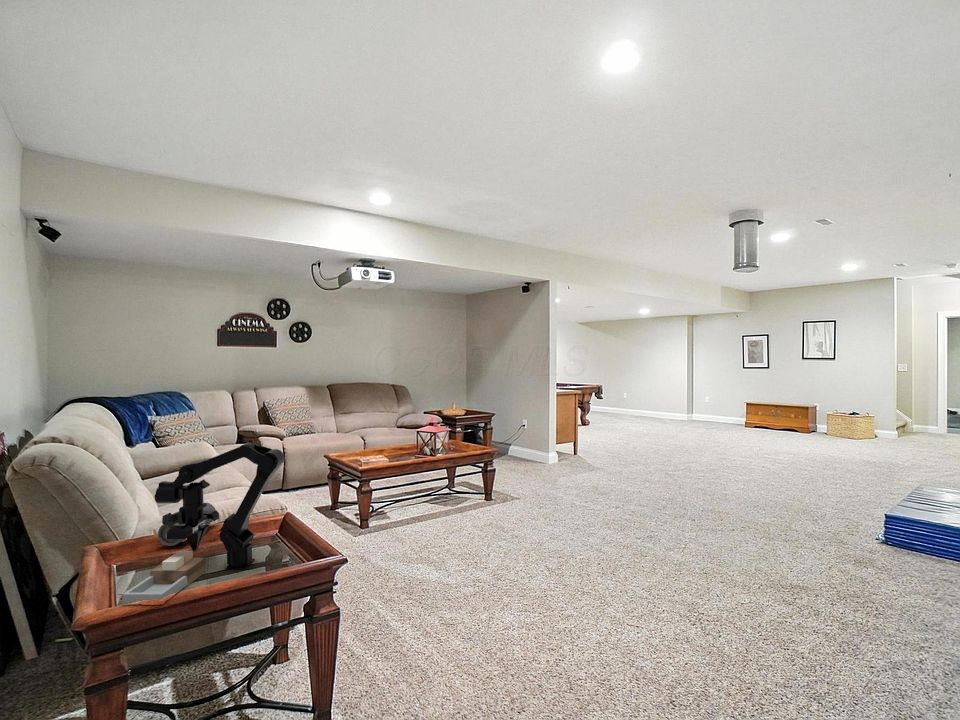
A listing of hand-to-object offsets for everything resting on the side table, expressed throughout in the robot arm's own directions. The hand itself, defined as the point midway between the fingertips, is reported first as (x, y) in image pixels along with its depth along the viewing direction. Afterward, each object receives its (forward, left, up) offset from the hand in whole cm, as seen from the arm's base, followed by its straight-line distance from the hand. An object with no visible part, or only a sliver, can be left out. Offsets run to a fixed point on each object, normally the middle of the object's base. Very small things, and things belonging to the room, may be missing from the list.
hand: (194, 550), depth 159 cm
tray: (0, +18, -5) cm, 19 cm away
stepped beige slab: (0, +8, -5) cm, 10 cm away
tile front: (0, +11, -1) cm, 11 cm away
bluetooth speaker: (+18, -25, -6) cm, 32 cm away
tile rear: (0, +6, -1) cm, 6 cm away
